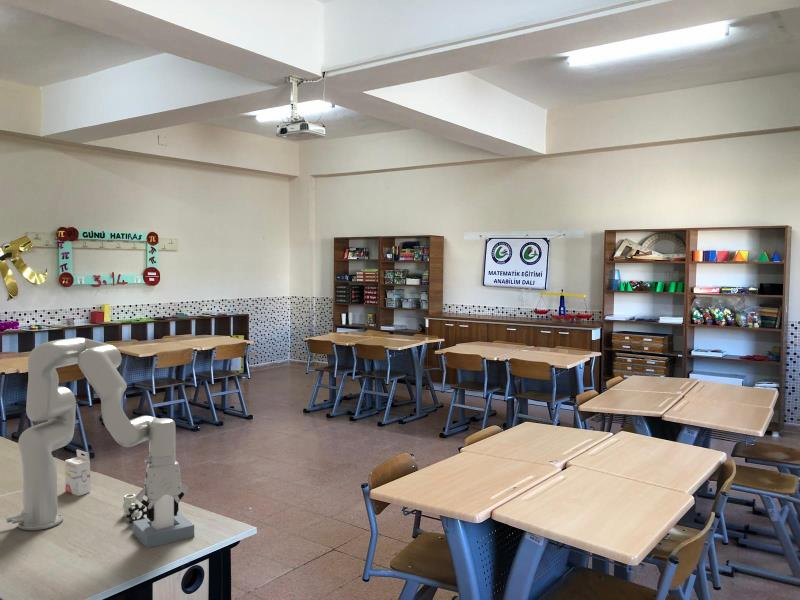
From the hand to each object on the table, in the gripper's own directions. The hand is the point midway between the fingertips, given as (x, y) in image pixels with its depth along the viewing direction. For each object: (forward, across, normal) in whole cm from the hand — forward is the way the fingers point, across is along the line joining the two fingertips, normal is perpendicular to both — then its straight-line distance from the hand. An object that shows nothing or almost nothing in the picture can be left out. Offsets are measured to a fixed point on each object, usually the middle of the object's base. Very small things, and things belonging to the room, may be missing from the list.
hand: (162, 516), depth 200 cm
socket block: (+5, 0, 0) cm, 5 cm away
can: (+4, 0, 0) cm, 4 cm away
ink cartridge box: (+6, -12, +56) cm, 57 cm away
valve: (+6, -4, +18) cm, 20 cm away
